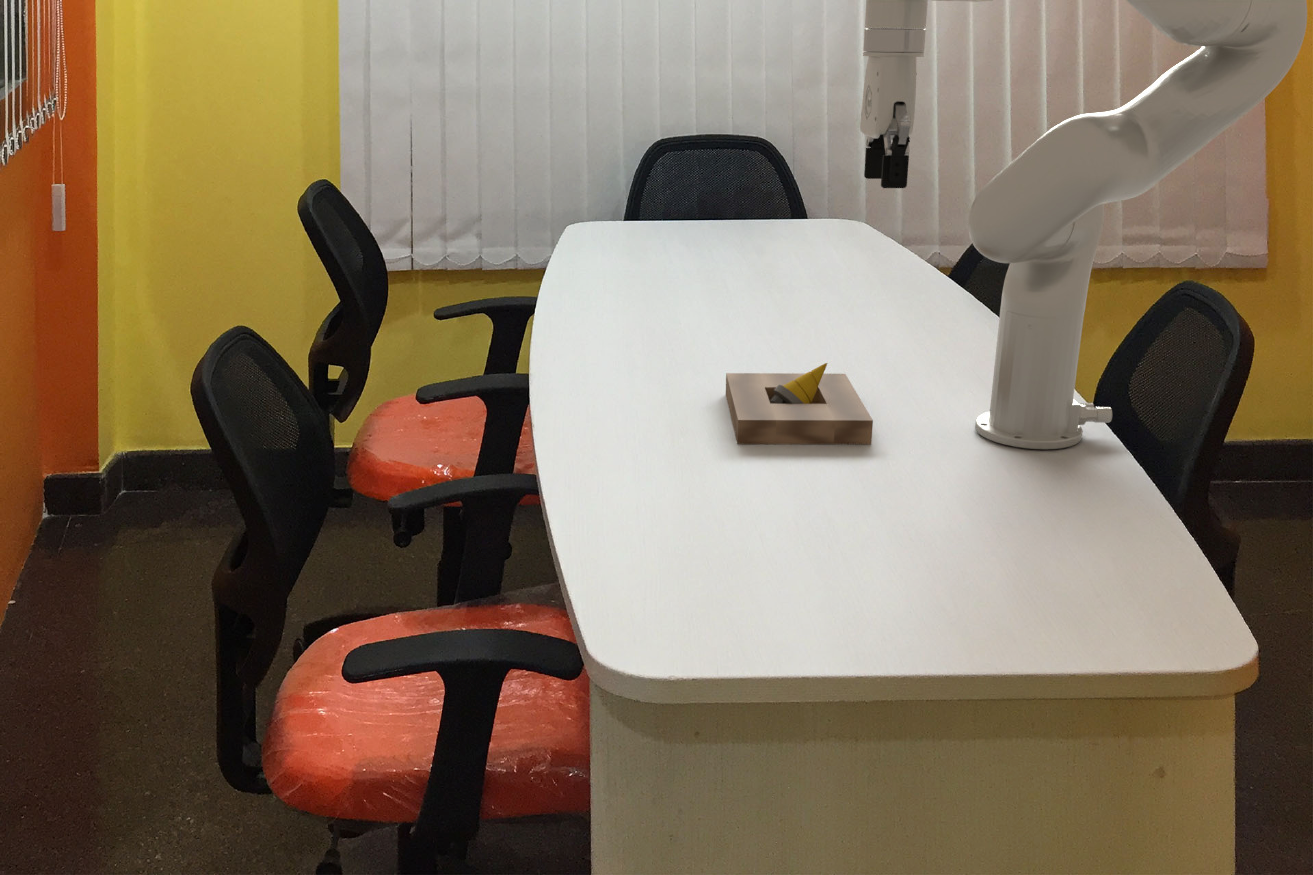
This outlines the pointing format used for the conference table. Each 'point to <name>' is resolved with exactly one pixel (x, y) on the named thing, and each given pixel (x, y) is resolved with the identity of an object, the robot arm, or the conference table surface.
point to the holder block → (796, 411)
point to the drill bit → (799, 388)
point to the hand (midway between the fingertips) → (884, 183)
